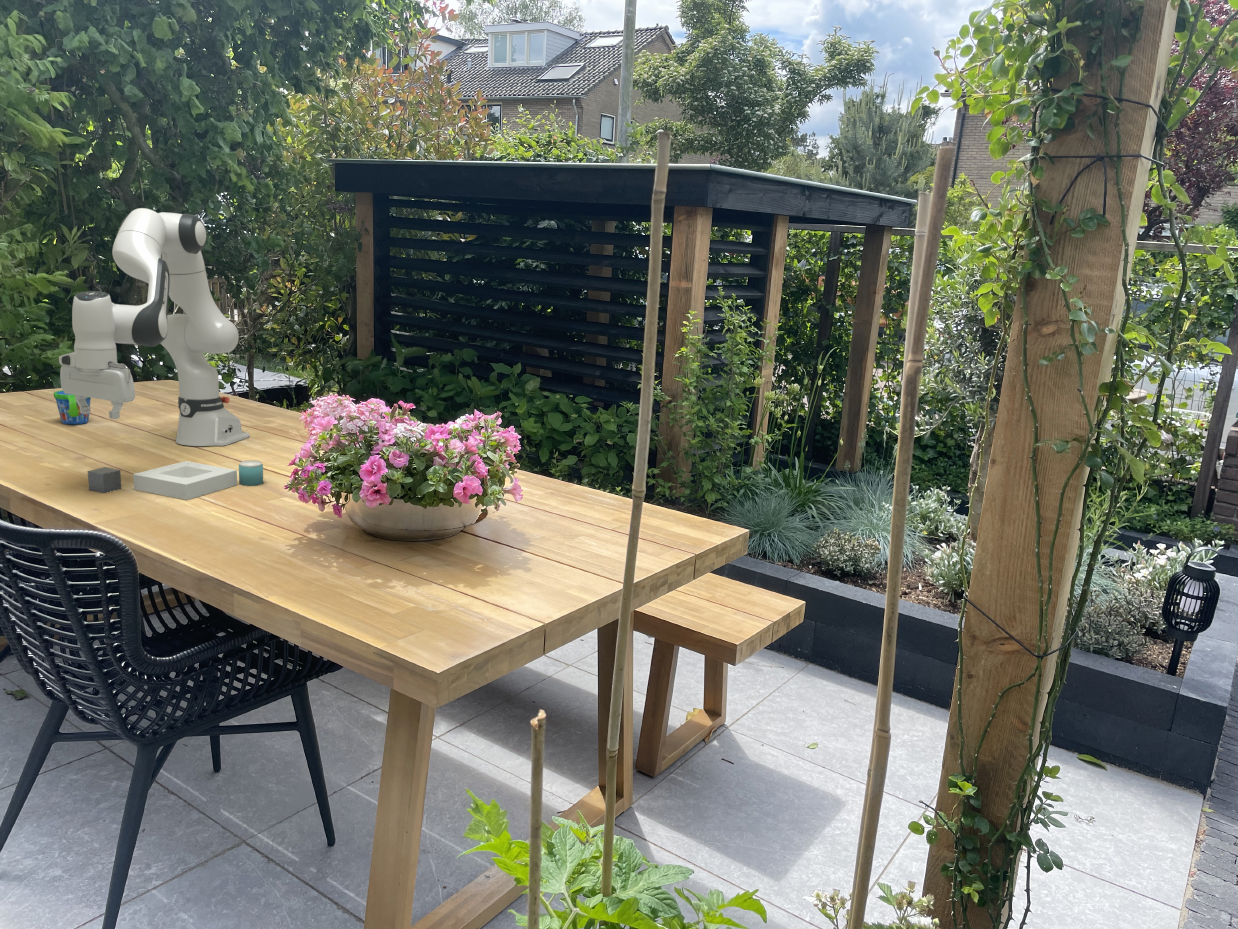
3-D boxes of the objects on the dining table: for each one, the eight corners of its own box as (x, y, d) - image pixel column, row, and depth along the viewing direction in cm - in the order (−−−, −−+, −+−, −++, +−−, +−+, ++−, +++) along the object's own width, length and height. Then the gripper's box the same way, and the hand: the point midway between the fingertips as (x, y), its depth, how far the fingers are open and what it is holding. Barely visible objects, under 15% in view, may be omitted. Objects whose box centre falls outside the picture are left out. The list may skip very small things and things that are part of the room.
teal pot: (250, 479, 241) (249, 458, 239) (268, 482, 239) (267, 462, 237) (234, 483, 235) (233, 463, 234) (252, 487, 233) (251, 466, 232)
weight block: (106, 486, 225) (105, 467, 224) (121, 489, 224) (120, 469, 223) (88, 490, 221) (87, 471, 219) (104, 493, 219) (102, 474, 218)
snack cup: (60, 418, 293) (57, 387, 291) (96, 417, 298) (94, 387, 295) (52, 428, 280) (49, 396, 277) (90, 427, 284) (88, 396, 281)
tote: (186, 475, 239) (186, 460, 238) (237, 484, 234) (236, 470, 233) (133, 489, 224) (132, 474, 223) (186, 500, 218) (186, 484, 217)
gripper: (140, 363, 214) (143, 419, 217) (76, 354, 220) (80, 409, 224) (117, 365, 208) (121, 423, 212) (53, 356, 215) (57, 412, 218)
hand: (99, 416), depth 218 cm, fingers open, 8 cm apart
